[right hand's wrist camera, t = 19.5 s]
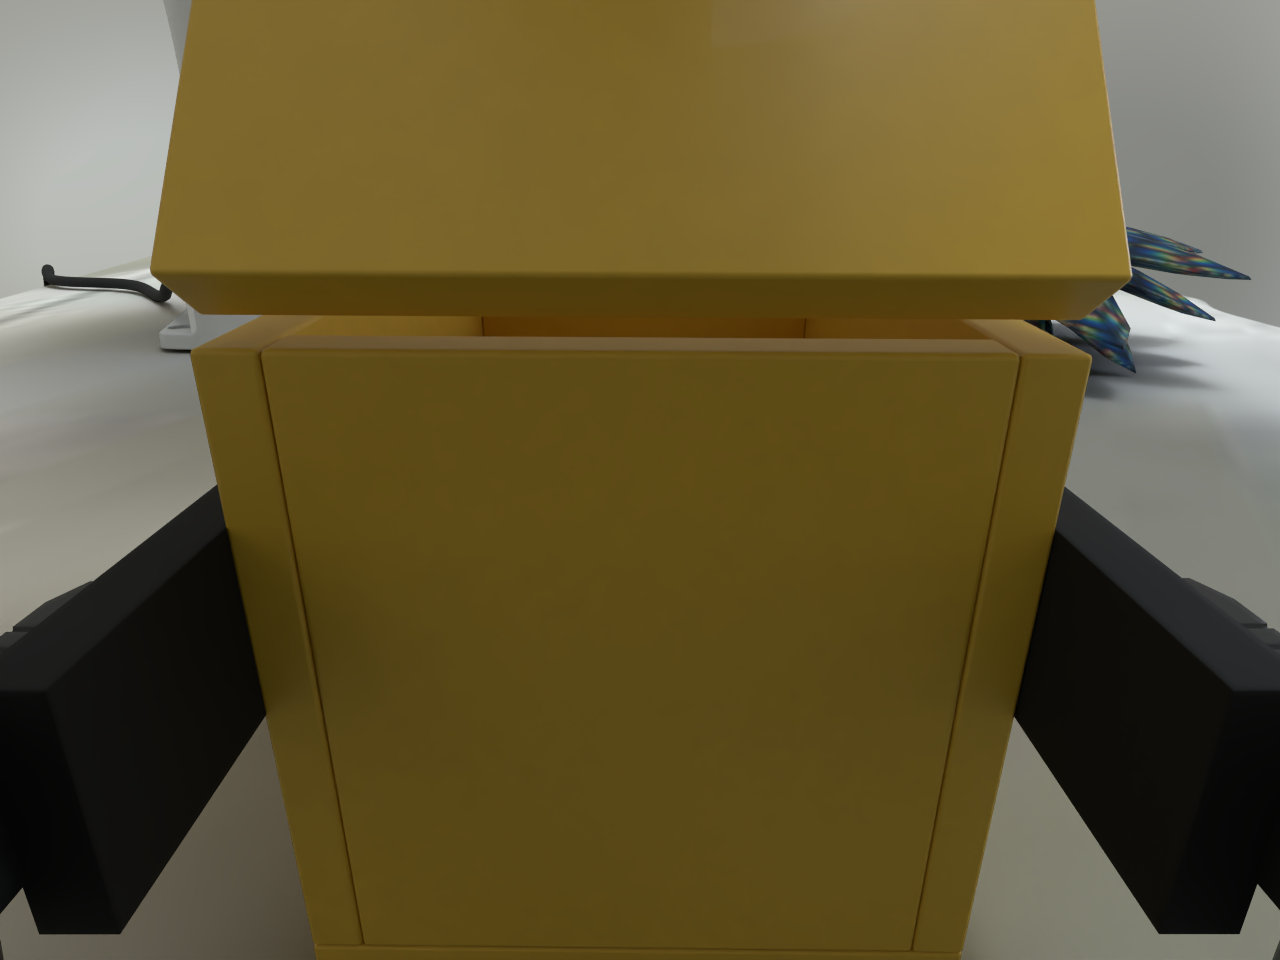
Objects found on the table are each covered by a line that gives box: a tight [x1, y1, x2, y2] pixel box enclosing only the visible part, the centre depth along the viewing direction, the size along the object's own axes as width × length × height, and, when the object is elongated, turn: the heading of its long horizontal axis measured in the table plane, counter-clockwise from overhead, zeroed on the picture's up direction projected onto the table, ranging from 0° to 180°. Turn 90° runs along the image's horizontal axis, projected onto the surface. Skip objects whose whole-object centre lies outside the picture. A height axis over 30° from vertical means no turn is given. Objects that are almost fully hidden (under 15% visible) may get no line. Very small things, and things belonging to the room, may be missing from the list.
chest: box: [190, 315, 1092, 960], centre depth 17 cm, size 13×10×10 cm
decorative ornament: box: [1023, 227, 1251, 373], centre depth 55 cm, size 31×8×30 cm
